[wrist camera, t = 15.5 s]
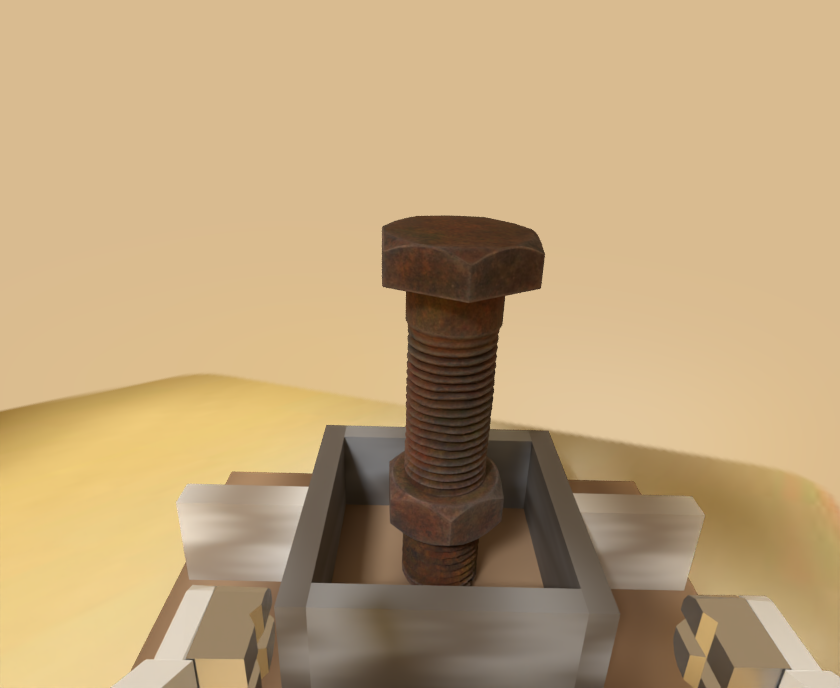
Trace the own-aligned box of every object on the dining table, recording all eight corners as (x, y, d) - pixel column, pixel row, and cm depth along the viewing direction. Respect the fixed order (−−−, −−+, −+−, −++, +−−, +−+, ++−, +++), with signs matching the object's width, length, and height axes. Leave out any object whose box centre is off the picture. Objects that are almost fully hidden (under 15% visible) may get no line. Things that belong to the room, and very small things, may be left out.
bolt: (414, 651, 21) (430, 258, 15) (351, 564, 25) (344, 222, 19) (528, 585, 24) (579, 236, 18) (456, 517, 28) (479, 209, 22)
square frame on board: (107, 764, 19) (72, 644, 17) (234, 494, 32) (224, 407, 29) (771, 776, 19) (822, 660, 17) (629, 503, 32) (647, 418, 30)
